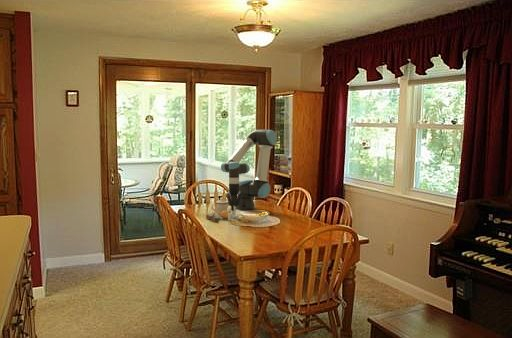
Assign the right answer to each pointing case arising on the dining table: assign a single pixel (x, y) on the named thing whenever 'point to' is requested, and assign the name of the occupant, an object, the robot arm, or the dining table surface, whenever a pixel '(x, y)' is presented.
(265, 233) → the dining table surface
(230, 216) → the pin
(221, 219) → the lane mark
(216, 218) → the back wall
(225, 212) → the ball
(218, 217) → the pin
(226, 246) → the dining table surface
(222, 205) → the teacup with lid
